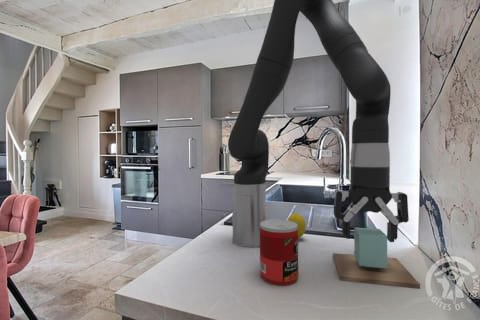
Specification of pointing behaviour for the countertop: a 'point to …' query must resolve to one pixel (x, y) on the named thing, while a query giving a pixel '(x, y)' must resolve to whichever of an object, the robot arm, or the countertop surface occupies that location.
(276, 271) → the canned food
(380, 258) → the mint foam cube
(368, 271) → the stand
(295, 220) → the lemon
